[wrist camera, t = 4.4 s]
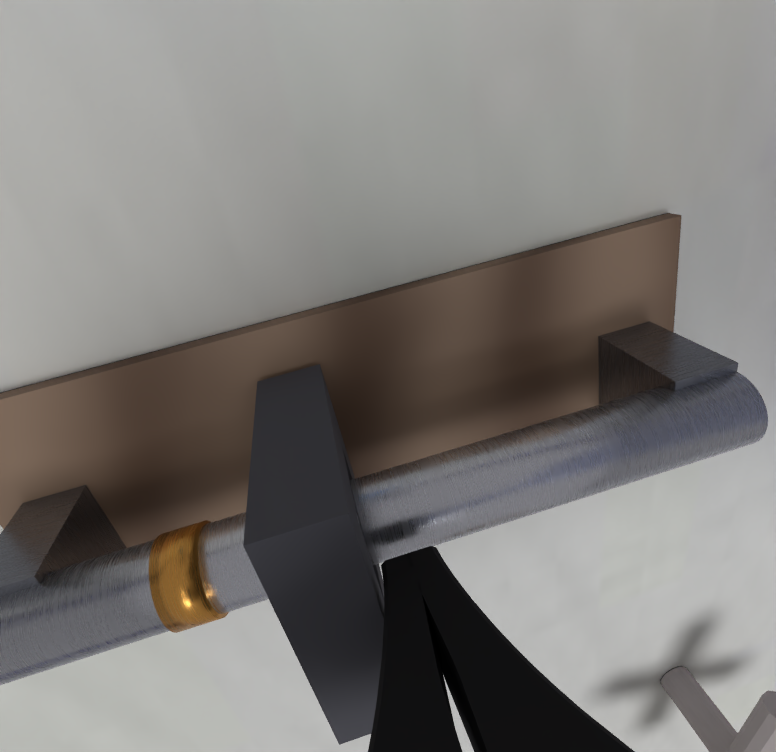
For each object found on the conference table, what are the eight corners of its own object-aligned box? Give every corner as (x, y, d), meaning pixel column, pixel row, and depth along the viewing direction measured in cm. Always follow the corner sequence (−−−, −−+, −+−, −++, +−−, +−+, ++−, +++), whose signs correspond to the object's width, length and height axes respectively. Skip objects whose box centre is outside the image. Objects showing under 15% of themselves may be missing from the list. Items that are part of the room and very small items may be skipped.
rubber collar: (319, 363, 15) (348, 512, 9) (369, 525, 18) (416, 717, 12) (257, 381, 15) (243, 546, 9) (318, 541, 18) (339, 744, 12)
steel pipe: (649, 320, 17) (779, 382, 13) (646, 391, 19) (762, 469, 14) (22, 502, 16) (-82, 649, 11) (70, 567, 17) (-6, 721, 12)
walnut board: (668, 213, 16) (681, 215, 16) (655, 448, 21) (664, 455, 21) (-68, 411, 14) (-81, 421, 14) (95, 624, 19) (89, 638, 18)
